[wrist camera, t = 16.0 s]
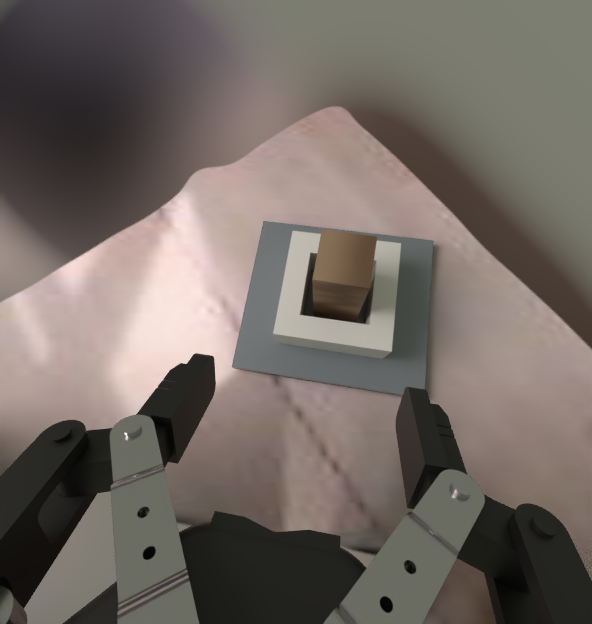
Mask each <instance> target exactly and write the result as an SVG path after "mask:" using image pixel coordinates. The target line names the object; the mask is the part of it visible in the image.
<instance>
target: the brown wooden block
mask: <svg viewBox="0 0 592 624" xmlns="http://www.w3.org/2000/svg"><path fill="white" fill-rule="evenodd" d="M376 242H377V237H376V236H369V235H362V234H355V233H347V232H340V231H333V230H325V229H322V231H321V237H320V242H319V247H318V252H317V258H316V263H315V268H314V273H313V279H312V284H313V312H314V317H318V318H325V319H332V320H339V321H346V322H353V323H355V322H356V319H357V317H358V315H359V312H360V310H361V308H362V306H363V303H364V301H365V299H366V296H367V294H368V292H369V290H370V285H371V278H372V271H373V263H374V256H375V249H376Z"/></svg>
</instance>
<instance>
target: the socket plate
mask: <svg viewBox="0 0 592 624" xmlns="http://www.w3.org/2000/svg"><path fill="white" fill-rule="evenodd" d="M322 229H325V230H333V231H340V232H347V233H355V234H362V235H369V236H376V237H377V242H376V249H375V256H374V263H373V271H372V278H371V285H370V290H369V292H368V294H367V296H366V299H365V301H364V303H363V306H362V308H361V310H360V312H359V315H358V317H357V319H356V322H355V323H353V322H346V321H339V320H332V319H325V318H318V317H314V312H313V284H312V279H313V273H314V268H315V263H316V258H317V252H318V247H319V242H320V237H321V231H322ZM432 256H433V241H432V240H423V239H415V238H406V237H397V236H389V235H380V234H371V233H363V232H354V231H345V230H336V229H328V228H319V227H310V226H302V225H293V224H284V223H275V222H267V221H264V222H263V226H262V231H261V235H260V240H259V245H258V249H257V254H256V258H255V263H254V268H253V272H252V277H251V281H250V286H249V291H248V295H247V300H246V304H245V309H244V314H243V318H242V323H241V327H240V332H239V337H238V341H237V346H236V350H235V355H234V360H233V364H232V367H233V368H236V369H242V370H248V371H254V372H260V373H266V374H272V375H278V376H284V377H291V378H297V379H303V380H309V381H315V382H321V383H327V384H333V385H339V386H345V387H352V388H358V389H364V390H370V391H376V392H382V393H388V394H394V395H400V396H403V393H404V390H405V388H406V387H412V388H419V389H425V377H426V359H427V342H428V325H429V308H430V290H431V273H432Z"/></svg>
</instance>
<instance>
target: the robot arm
mask: <svg viewBox="0 0 592 624" xmlns="http://www.w3.org/2000/svg"><path fill="white" fill-rule="evenodd" d="M215 385H216V382H215V365H214V357H213V356H210V355H203V354H197V353H196V354H194V355H193V356H192V358H191V359H190V360H189V362H188V363H187V364H182V363H181V364H179V365H177V366H176V367H174V368H173V369H171V370H170V371H169V373H168V374H167V375H166V376H165V378H164V380H163V381H162V382H161V383H160V384H159V386H158V388H156V390H155V391H154V392H153V393H152V395H151V396H150V397H149V399H148V400H147V401H146V403H145V404H144V405H143V407H142V408H141V409H140V410H139V412H138V413H137V414H136V415H133V416H129V417H126V418H124V419H122V420H121V421H119V422H118V423H117V424H116V425H115V426H114V427H113V428H109V429H99V430H89V431H86V428H85V425H84V424H83V423H82V422H80V421H77V420H67V421H62V422H59V423H56V424H54V425H52V426H50V427H49V428H47V429H46V430H45V431H43V432H42V433H41V434H40V435H39V436H38V437H37V438H36V440H35V441H34V442H33V443H32V444H31V445H30V446H29V447H28V448H27V449H26V450H25V451H24V452H23V453H22V454H21V455H20V456H19V457H18V458H17V460H16V461H15V462H14V463H13V464H12V465H11V466H10V467H9V468H8V469H7V470H6V471H5V472H4V473H3V474H2V475H1V476H0V624H27V615H26V612H25V610H24V607H25V606H26V604H27V603H28V601H29V600H30V598H31V596H32V595H33V593H34V592H35V590H36V589H37V587H38V585H39V584H40V582H41V581H42V579H43V578H44V576H45V574H46V573H47V571H48V570H49V568H50V567H51V565H52V564H53V562H54V560H55V559H56V557H57V556H58V554H59V553H60V551H61V549H62V548H63V546H64V545H65V543H66V542H67V540H68V538H69V537H70V535H71V534H72V532H73V531H74V529H75V528H76V526H77V524H78V523H79V521H80V520H81V518H82V516H83V515H84V513H85V512H86V510H87V509H88V507H89V506H90V504H91V502H92V501H93V499H94V498H95V496H96V495H97V493H101V492H108V491H111V503H112V516H113V530H114V531H113V532H114V546H115V561H116V576H117V581H116V582H115V583H114V584H112V585H111V586H110V587H109V588H107V589H106V590H105V591H104V592H102V593H101V594H100V595H99V596H97V597H96V598H95V599H93V600H92V601H91V602H90V603H89V604H87V605H86V606H85V607H83V608H82V609H81V610H80V611H78V612H77V613H76V614H74V615H73V616H72V617H71V618H70V619H68V620H67V621H66V622H64V623H63V624H422V622H423V620H424V619H425V617H426V615H427V613H428V611H429V609H430V607H431V605H432V604H433V602H434V600H435V598H436V596H437V594H438V592H439V590H440V588H441V587H442V585H443V583H444V581H445V579H446V577H447V575H448V573H449V572H450V570H451V568H452V566H453V564H454V562H455V560H456V558H458V559H460V560H462V561H464V562H466V563H467V564H469V565H471V566H473V567H475V568H477V569H478V570H480V571H482V572H484V574H485V578H486V582H487V586H488V590H489V594H490V598H491V602H492V606H493V610H494V614H495V619H496V623H497V624H592V581H591V579H590V577H589V575H588V572H587V570H586V568H585V566H584V564H583V562H582V560H581V558H580V556H579V554H578V552H577V550H576V548H575V546H574V543H573V541H572V539H571V537H570V535H569V533H568V531H567V530H566V528H565V527H564V525H563V524H562V523H561V522H560V521H559V520H558V519H557V518H556V517H555V516H554V515H552V514H551V513H550V512H548V511H547V510H545V509H543V508H542V507H539V506H537V505H533V504H521V505H519V506H518V507H517V508H516V510H514V509H512V508H510V507H508V506H506V505H504V504H501V503H499V502H497V501H495V500H493V499H491V498H489V497H487V496H486V495H484V493H483V491H482V489H481V488H480V486H479V485H478V484H477V482H476V481H475V480H474V479H472V478H471V477H470V476H468V475H467V472H466V469H465V466H464V463H463V460H462V457H461V454H460V451H459V448H458V445H457V442H456V439H454V433H453V431H452V429H451V425H450V422H449V419H448V416H447V414H446V413H445V412H444V411H443V409H442V408H441V407H440V406H439V405H437V404H431V403H430V400H429V397H428V393H427V391H426V390H425V389H419V388H412V387H406V388H405V390H404V393H403V396H402V399H401V403H400V406H399V409H398V412H397V417H396V434H397V440H398V447H399V454H400V461H401V468H402V475H403V482H404V488H405V495H406V502H407V508H411V509H414V510H413V511H412V512H411V513H410V512H409V513H408V514H407V515H406V516H405V517H404V518H403V520H402V521H401V522H400V524H399V525H398V526H397V528H396V529H395V531H394V532H393V533H392V535H391V536H390V537H389V539H388V540H387V541H386V543H385V544H384V545H383V547H382V548H381V550H380V551H379V552H378V554H377V555H376V556H375V558H374V559H373V560H372V562H371V563H370V564H369V566H368V567H367V568H366V567H365V566H364V565H363V564H362V563H361V562H360V561H359V560H358V559H357V558H356V557H354V556H353V555H352V554H351V553H349V552H348V551H346V550H345V549H343V548H341V547H340V536H337V535H332V534H327V533H322V532H317V531H312V530H301V531H288V532H273V531H271V530H269V529H267V528H265V527H263V526H261V525H259V524H257V523H255V522H253V521H252V520H250V519H248V518H246V517H242V516H237V515H232V514H227V513H222V512H217V511H215V513H214V515H213V518H212V521H209V522H203V523H199V524H196V525H193V526H191V527H188V528H187V529H184V530H183V531H181V532H178V528H177V523H176V518H175V514H174V509H173V505H172V500H171V496H170V492H169V487H168V483H167V478H166V474H165V469H164V468H165V466H166V464H167V463H168V462H173V463H178V462H179V461H180V459H181V457H182V455H183V453H184V451H185V449H186V447H187V445H188V443H189V442H190V440H191V438H192V436H193V434H194V432H195V430H196V428H197V426H198V424H199V423H200V421H201V419H202V417H203V415H204V413H205V411H206V409H207V407H208V405H209V404H210V402H211V400H212V398H213V395H214V392H215Z"/></svg>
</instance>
